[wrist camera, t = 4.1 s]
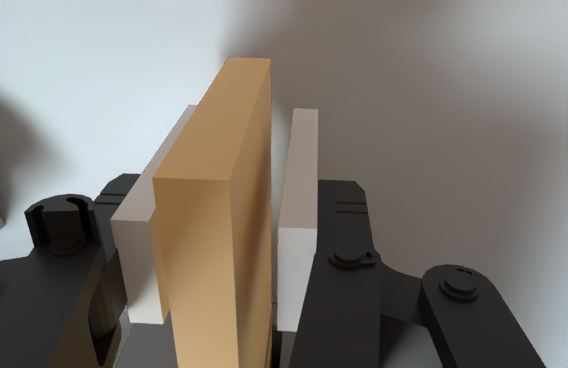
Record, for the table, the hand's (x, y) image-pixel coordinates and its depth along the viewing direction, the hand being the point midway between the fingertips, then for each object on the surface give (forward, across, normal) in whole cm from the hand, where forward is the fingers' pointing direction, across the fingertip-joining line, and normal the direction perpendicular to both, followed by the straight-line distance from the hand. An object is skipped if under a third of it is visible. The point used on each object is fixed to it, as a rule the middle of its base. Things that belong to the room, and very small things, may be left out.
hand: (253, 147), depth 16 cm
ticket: (0, 0, -8) cm, 8 cm away
